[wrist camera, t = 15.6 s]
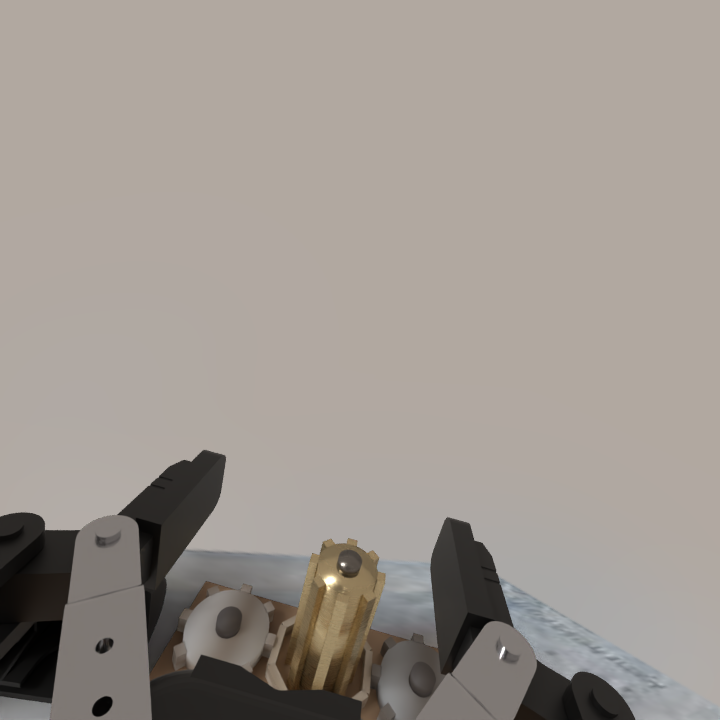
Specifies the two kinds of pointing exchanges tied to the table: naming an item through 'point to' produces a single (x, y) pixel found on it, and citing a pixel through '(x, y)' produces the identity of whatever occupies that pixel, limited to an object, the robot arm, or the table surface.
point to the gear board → (270, 645)
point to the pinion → (333, 617)
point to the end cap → (52, 654)
